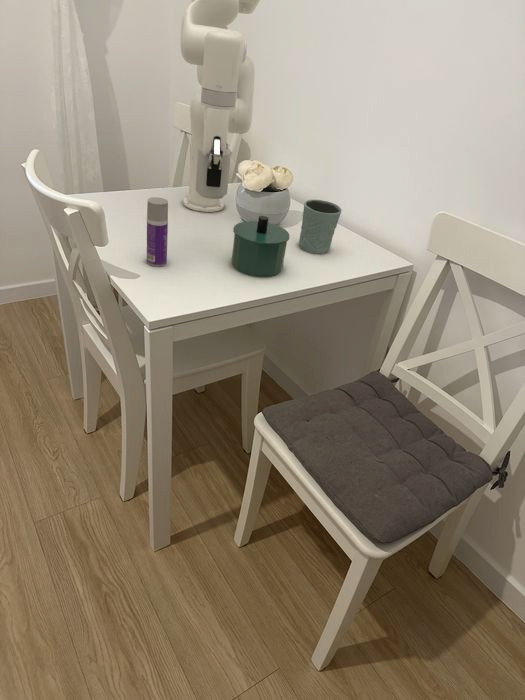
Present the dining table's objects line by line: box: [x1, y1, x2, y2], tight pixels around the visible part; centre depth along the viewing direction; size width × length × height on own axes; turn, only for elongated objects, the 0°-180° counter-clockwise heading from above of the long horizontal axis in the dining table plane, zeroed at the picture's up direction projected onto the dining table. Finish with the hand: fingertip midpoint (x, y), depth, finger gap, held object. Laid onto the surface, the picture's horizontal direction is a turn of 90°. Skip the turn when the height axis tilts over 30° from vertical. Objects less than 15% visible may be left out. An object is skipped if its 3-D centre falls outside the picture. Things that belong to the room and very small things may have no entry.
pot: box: [231, 233, 288, 278], centre depth 125 cm, size 13×13×8 cm
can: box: [196, 141, 232, 200], centre depth 118 cm, size 8×8×12 cm
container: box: [146, 196, 169, 268], centre depth 117 cm, size 5×5×15 cm
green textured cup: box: [298, 199, 342, 255], centre depth 138 cm, size 10×10×12 cm
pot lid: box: [232, 215, 290, 245], centre depth 122 cm, size 14×14×5 cm
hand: (212, 180), depth 119 cm, fingers closed on can, 7 cm apart
